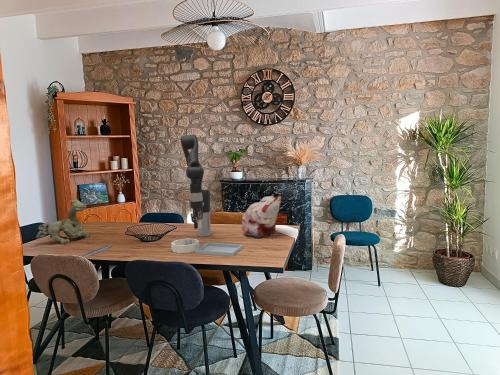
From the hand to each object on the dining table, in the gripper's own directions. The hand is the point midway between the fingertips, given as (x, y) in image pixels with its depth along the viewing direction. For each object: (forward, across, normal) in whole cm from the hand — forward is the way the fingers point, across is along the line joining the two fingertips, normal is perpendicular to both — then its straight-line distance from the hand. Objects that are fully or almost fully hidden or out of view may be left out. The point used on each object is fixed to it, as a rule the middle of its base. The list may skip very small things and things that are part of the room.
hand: (197, 227), depth 223 cm
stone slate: (+14, -3, -8) cm, 17 cm away
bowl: (+15, -1, -9) cm, 18 cm away
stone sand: (0, 0, 0) cm, 0 cm away
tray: (+15, -2, +13) cm, 20 cm away
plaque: (+15, +15, -63) cm, 66 cm away
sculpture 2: (+16, -49, +29) cm, 59 cm away
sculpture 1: (+15, -7, -104) cm, 105 cm away
